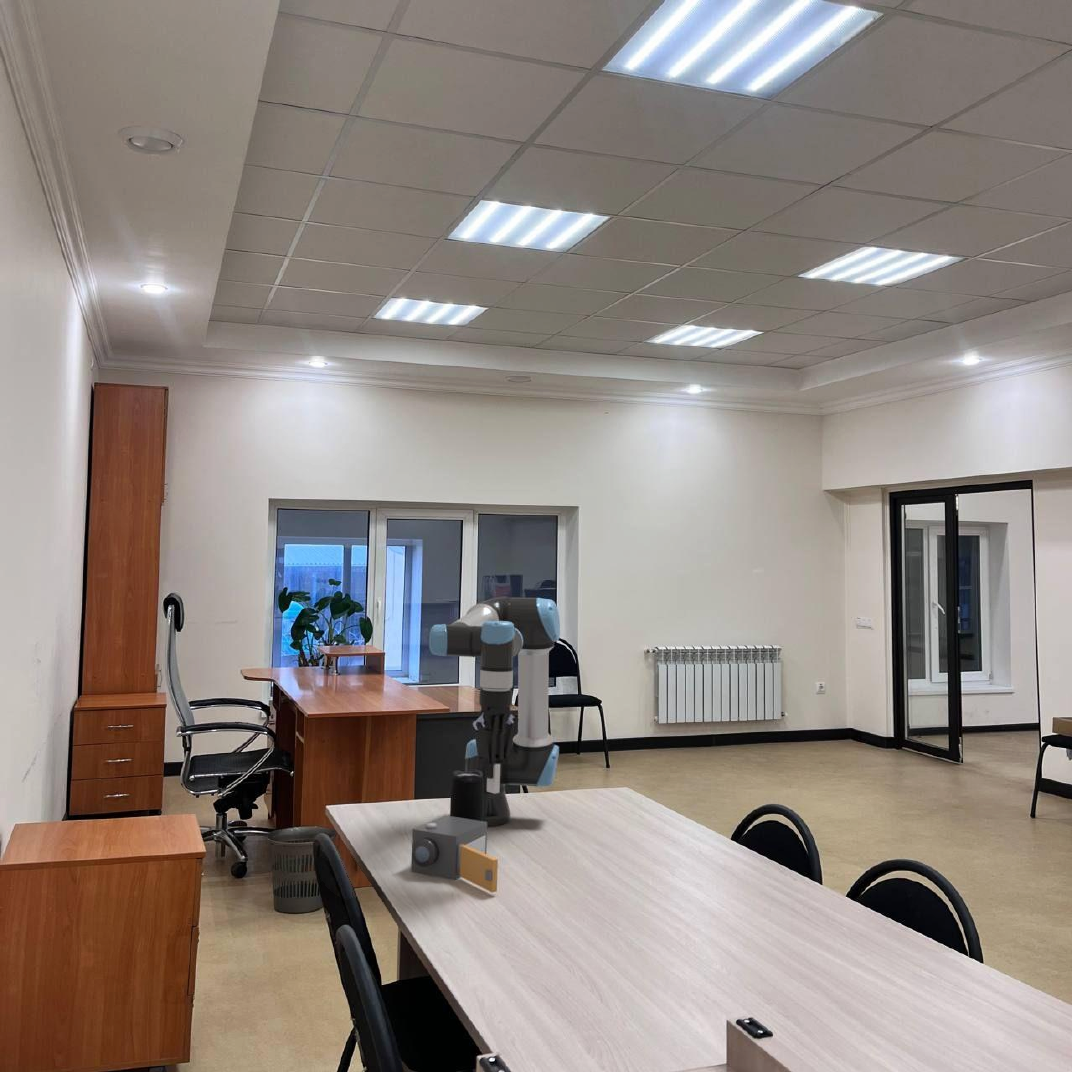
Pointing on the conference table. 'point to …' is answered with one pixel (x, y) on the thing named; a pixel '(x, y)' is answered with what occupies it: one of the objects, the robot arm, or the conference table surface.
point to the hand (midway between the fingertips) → (493, 791)
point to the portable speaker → (467, 795)
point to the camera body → (445, 845)
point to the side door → (477, 867)
